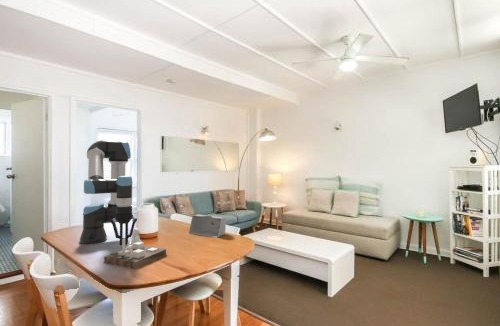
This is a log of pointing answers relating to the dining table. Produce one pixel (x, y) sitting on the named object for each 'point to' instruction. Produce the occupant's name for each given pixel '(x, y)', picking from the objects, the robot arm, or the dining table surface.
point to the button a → (123, 252)
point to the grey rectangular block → (207, 225)
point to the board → (134, 262)
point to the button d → (152, 250)
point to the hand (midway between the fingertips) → (123, 251)
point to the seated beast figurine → (134, 237)
